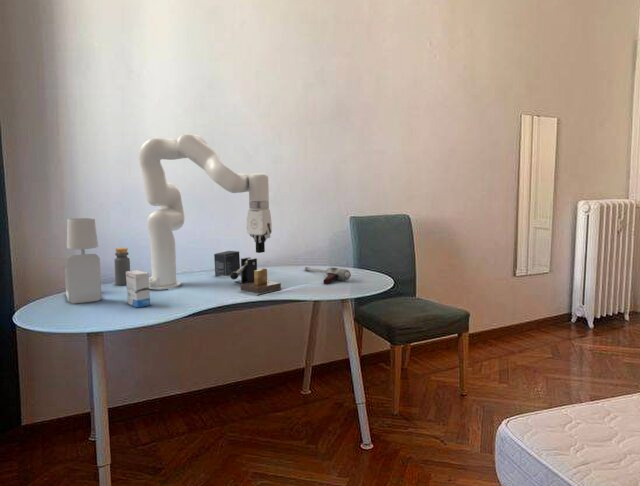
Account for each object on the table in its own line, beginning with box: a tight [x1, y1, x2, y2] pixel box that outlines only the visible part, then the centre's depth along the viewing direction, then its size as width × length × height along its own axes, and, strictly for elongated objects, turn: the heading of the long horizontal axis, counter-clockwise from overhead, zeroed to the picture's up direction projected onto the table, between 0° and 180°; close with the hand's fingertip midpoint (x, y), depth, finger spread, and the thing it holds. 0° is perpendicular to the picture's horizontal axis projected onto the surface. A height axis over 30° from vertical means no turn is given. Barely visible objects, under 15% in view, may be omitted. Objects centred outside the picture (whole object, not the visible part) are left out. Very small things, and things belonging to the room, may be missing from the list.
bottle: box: [113, 247, 131, 286], centre depth 219 cm, size 6×6×15 cm
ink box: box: [126, 269, 151, 308], centre depth 185 cm, size 9×5×12 cm, turn 45°
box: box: [213, 250, 241, 277], centre depth 239 cm, size 11×7×10 cm, turn 154°
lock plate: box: [240, 279, 282, 297], centre depth 208 cm, size 12×10×3 cm
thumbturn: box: [254, 267, 268, 285], centre depth 207 cm, size 5×2×6 cm, turn 141°
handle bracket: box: [234, 256, 258, 285], centre depth 221 cm, size 9×8×11 cm
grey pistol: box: [304, 266, 352, 285], centre depth 236 cm, size 5×35×13 cm
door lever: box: [229, 257, 251, 281], centre depth 218 cm, size 12×3×3 cm, turn 141°
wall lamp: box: [64, 217, 103, 304], centre depth 193 cm, size 10×21×30 cm, turn 32°
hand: (260, 252), depth 207 cm, fingers closed
